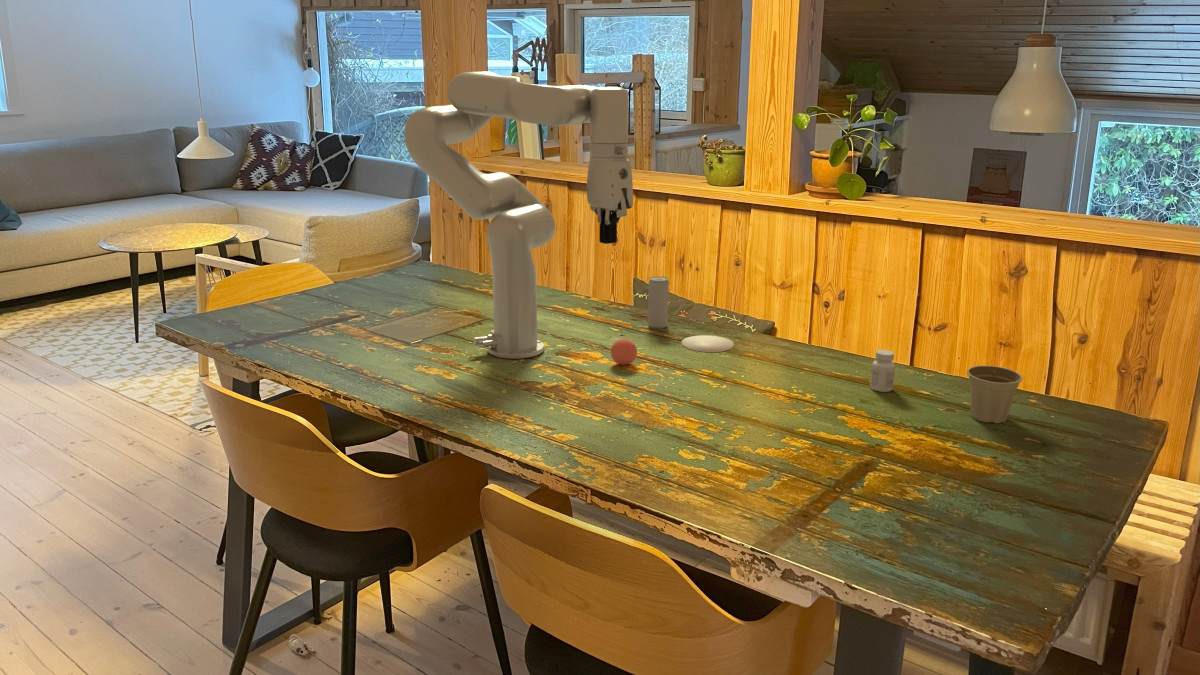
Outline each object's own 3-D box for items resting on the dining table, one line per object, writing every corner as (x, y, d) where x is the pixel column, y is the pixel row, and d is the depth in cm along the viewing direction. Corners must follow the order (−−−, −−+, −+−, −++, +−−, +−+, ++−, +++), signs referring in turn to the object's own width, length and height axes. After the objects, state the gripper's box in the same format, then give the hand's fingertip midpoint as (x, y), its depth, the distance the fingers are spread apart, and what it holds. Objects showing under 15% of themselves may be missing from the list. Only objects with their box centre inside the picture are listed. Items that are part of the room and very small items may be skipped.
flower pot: (1011, 431, 166) (1018, 386, 163) (956, 420, 170) (962, 376, 168) (1019, 414, 173) (1026, 371, 171) (967, 404, 178) (972, 362, 175)
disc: (698, 354, 205) (698, 354, 205) (672, 339, 216) (672, 339, 216) (744, 348, 210) (744, 347, 210) (716, 333, 220) (716, 332, 220)
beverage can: (668, 329, 224) (669, 281, 220) (648, 329, 224) (649, 280, 220) (667, 323, 228) (668, 276, 225) (647, 323, 228) (648, 276, 225)
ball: (617, 370, 195) (617, 344, 194) (606, 362, 200) (606, 337, 199) (641, 366, 198) (641, 341, 196) (629, 358, 203) (629, 334, 201)
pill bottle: (893, 386, 187) (897, 350, 185) (892, 393, 183) (896, 356, 181) (870, 383, 189) (874, 347, 186) (869, 391, 185) (872, 354, 182)
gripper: (647, 153, 180) (645, 246, 186) (601, 147, 192) (600, 234, 197) (617, 156, 176) (616, 251, 181) (571, 149, 187) (571, 238, 193)
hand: (608, 242), depth 189 cm, fingers closed
